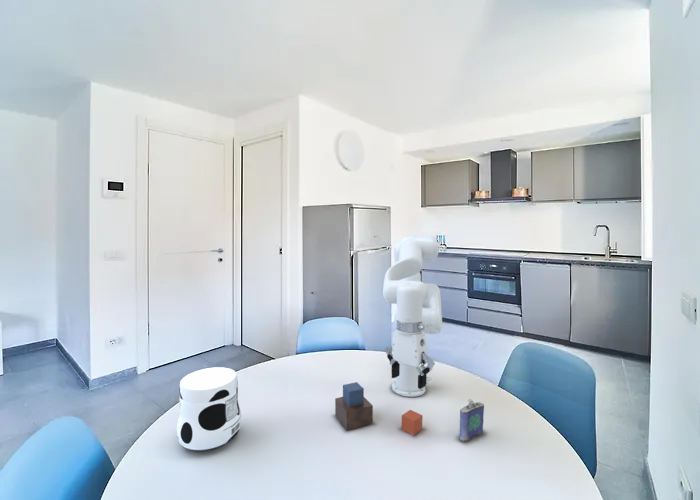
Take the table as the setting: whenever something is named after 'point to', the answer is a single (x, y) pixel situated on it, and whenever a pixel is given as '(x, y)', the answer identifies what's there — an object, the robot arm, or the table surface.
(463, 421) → the flask
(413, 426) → the terracotta cube
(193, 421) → the milk container
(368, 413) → the walnut base
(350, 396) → the blue cube
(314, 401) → the table surface
